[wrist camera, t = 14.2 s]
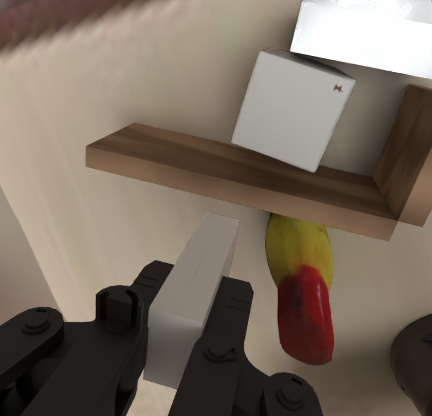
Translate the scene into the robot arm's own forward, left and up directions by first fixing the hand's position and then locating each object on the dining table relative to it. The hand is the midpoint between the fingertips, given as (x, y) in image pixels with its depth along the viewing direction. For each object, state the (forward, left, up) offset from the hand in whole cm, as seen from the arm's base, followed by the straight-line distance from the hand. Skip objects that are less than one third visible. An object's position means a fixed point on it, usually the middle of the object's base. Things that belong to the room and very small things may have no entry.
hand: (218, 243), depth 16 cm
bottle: (-11, -7, -27) cm, 30 cm away
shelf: (+1, 0, -27) cm, 27 cm away
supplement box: (+4, -2, -27) cm, 27 cm away
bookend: (+11, -7, -27) cm, 30 cm away
